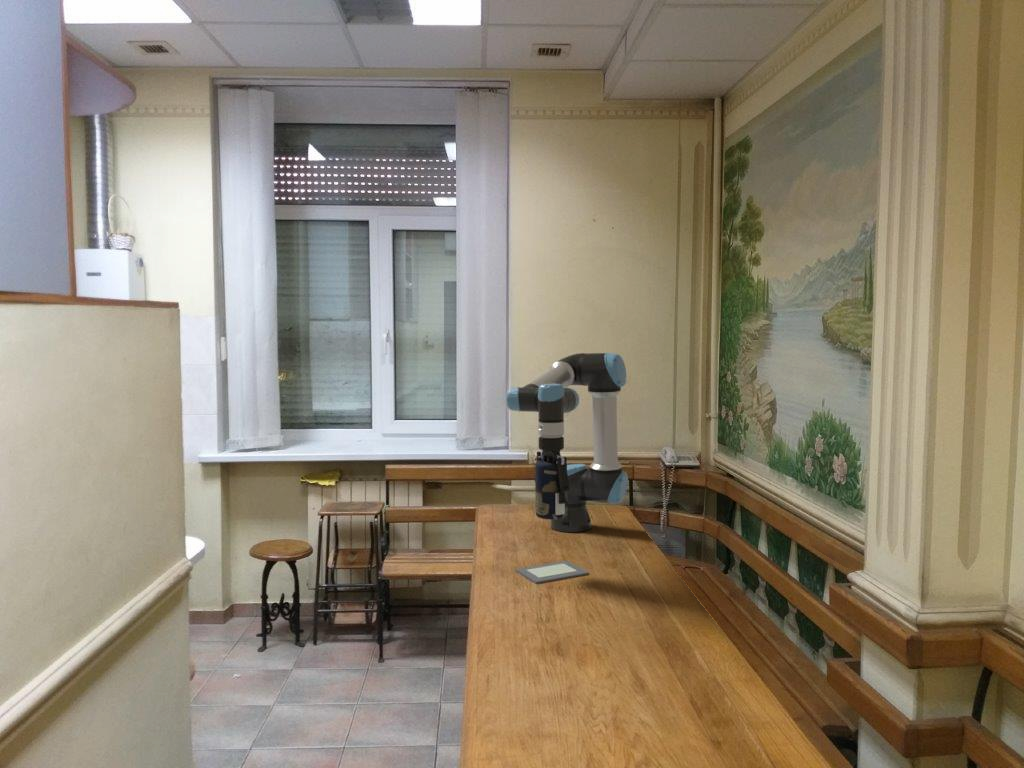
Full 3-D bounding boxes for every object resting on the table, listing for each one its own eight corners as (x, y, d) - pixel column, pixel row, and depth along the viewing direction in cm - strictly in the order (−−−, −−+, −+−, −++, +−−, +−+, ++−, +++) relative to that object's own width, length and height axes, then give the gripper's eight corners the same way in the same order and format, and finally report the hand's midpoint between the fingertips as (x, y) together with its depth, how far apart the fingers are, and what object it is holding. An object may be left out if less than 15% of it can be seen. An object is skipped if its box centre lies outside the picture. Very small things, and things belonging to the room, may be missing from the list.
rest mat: (566, 562, 226) (566, 560, 226) (588, 574, 215) (588, 571, 215) (515, 570, 218) (515, 568, 218) (535, 583, 207) (535, 581, 207)
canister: (567, 514, 220) (567, 455, 219) (567, 521, 210) (567, 460, 209) (536, 513, 221) (536, 455, 220) (534, 521, 211) (533, 460, 210)
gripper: (522, 432, 222) (523, 504, 224) (559, 441, 202) (559, 520, 204) (544, 431, 226) (544, 501, 227) (581, 439, 206) (582, 517, 207)
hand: (551, 510), depth 215 cm, fingers closed on canister, 9 cm apart
